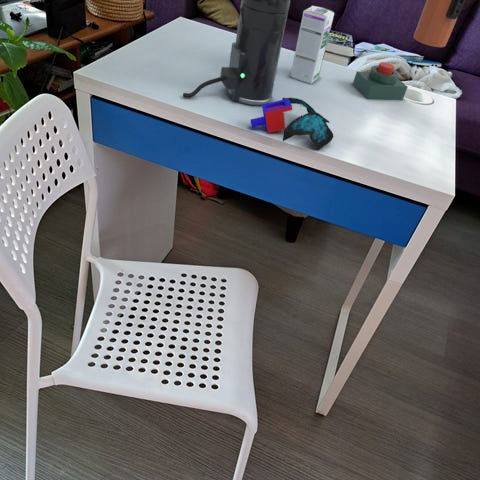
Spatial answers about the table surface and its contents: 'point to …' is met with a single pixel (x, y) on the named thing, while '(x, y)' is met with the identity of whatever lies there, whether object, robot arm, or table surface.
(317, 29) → the syrup box
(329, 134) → the butterfly
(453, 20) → the jar
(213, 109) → the table surface
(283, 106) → the toy building block
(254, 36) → the robot arm
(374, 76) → the green button base
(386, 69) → the button
